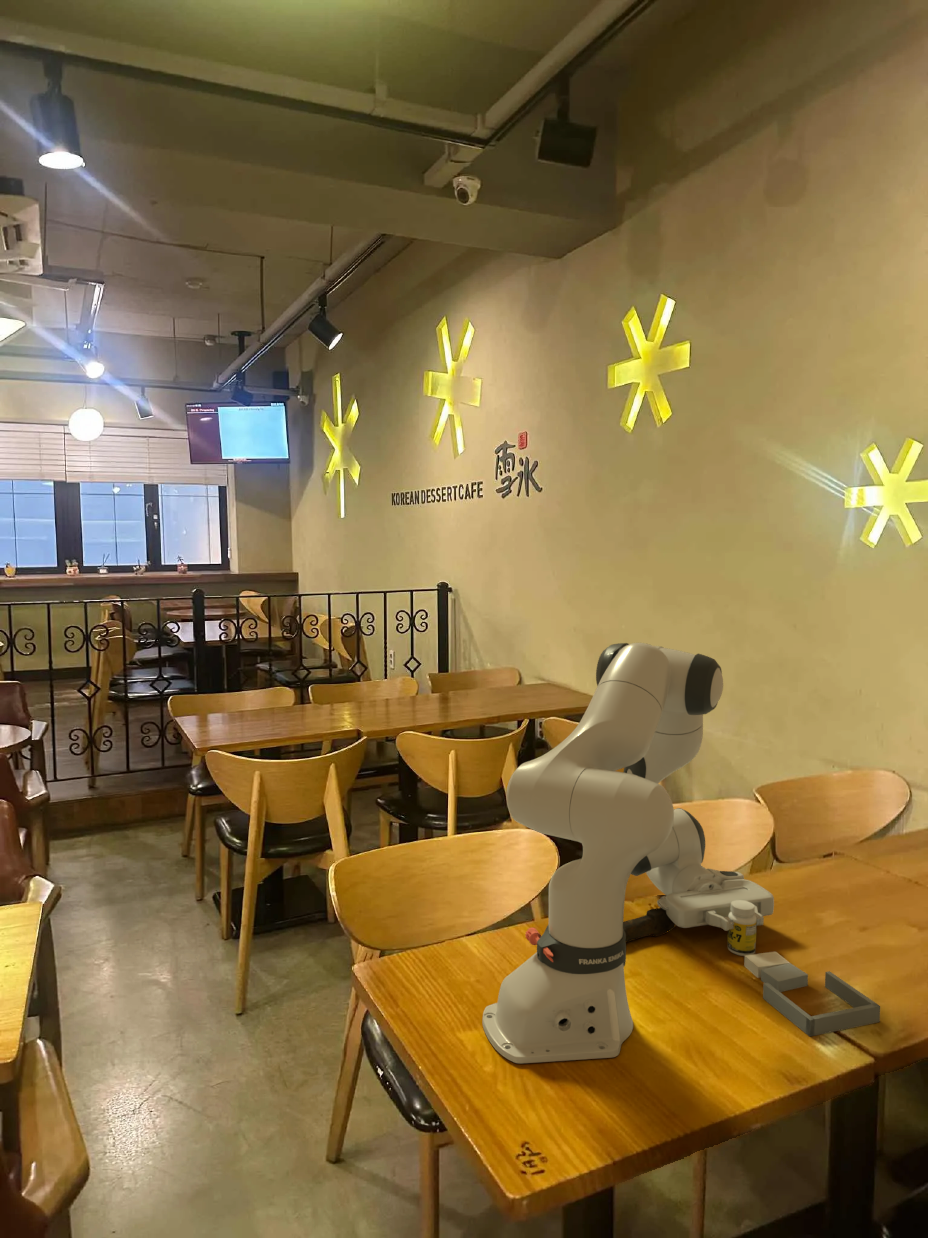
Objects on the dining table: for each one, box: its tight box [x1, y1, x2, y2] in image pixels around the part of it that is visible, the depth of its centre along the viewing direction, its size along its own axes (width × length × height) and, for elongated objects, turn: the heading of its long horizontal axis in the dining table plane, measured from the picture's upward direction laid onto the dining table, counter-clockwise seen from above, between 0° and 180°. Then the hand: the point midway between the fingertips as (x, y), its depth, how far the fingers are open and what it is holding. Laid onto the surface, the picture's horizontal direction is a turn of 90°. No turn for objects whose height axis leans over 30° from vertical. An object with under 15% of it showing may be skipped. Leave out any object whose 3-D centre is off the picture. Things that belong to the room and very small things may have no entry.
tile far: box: [743, 951, 791, 979], centre depth 140 cm, size 6×4×2 cm, turn 104°
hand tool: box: [623, 906, 676, 943], centre depth 150 cm, size 19×4×5 cm, turn 115°
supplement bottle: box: [727, 900, 757, 957], centre depth 146 cm, size 5×5×8 cm
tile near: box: [760, 962, 809, 993], centre depth 135 cm, size 6×4×2 cm, turn 111°
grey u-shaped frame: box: [762, 970, 881, 1037], centre depth 127 cm, size 13×11×2 cm
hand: (745, 924), depth 145 cm, fingers closed on supplement bottle, 5 cm apart
